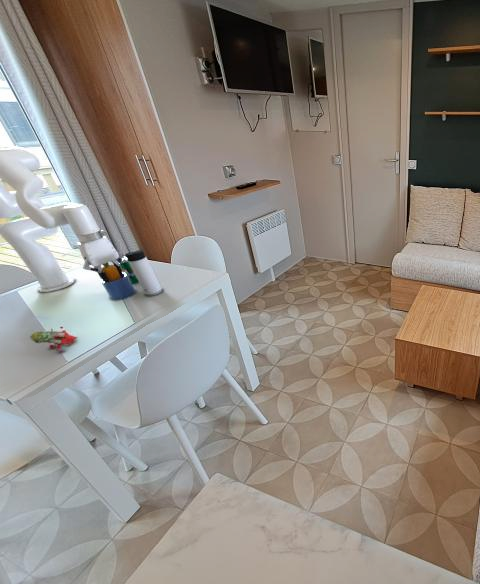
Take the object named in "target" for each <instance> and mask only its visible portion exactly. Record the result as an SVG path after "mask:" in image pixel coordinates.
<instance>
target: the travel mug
mask: <svg viewBox="0 0 480 584" xmlns="http://www.w3.org/2000/svg"><path fill="white" fill-rule="evenodd" d="M124 257H126V258H127V260H128V262H129V264H130V266H131V268H132V270H133V272H134V274H135V275H136V277H137V279H138V281H139V282H138V283H139V285H140V287H141V289H142V291H143V293H144V294H145V296H146V297H152V296H153V297H154V296H156V295H159V294H161V293H162V291H163V288H162V286H161V285H160V282H159V280H158V278H157V276H156V274H155V272H154V270H153V268H152V265H151V263H150V262H149V259H148V258H147V256H146V254H145V252H144V250H143V249H138V250H135V251H132V252H127V253H125V254H124Z"/></svg>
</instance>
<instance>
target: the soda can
mask: <svg viewBox="0 0 480 584" xmlns="http://www.w3.org/2000/svg"><path fill="white" fill-rule="evenodd" d="M120 267H121V269H122V273H125V274H127V276H128V278H129V280H130V282H131V284H132V285H133V284H138V283H139V281H138V279H137V277H136V275H135V274H134V272H133V270H132V268H131V266H130V264H129V262H128V260H127V258H126V256H124V257H123V258H122V260H121V263H120Z"/></svg>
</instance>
